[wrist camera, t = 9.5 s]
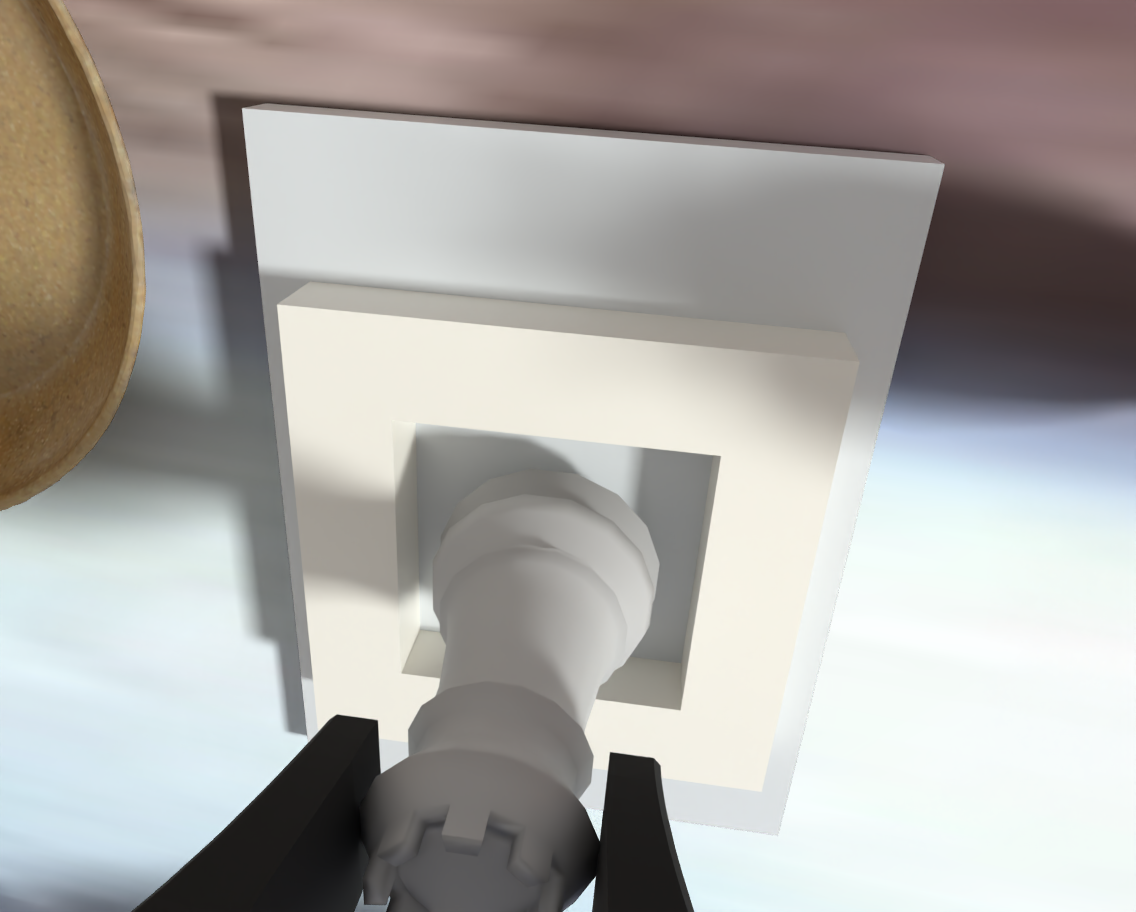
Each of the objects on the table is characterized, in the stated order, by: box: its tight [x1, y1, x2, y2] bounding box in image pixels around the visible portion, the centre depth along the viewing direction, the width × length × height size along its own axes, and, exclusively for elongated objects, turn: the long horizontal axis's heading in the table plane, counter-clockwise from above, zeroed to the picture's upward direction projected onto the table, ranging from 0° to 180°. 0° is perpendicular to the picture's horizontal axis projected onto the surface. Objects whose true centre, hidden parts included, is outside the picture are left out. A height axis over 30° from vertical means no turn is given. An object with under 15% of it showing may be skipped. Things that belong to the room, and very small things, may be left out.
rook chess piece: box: [359, 469, 660, 912], centre depth 14 cm, size 4×4×8 cm
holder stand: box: [242, 103, 945, 836], centre depth 18 cm, size 16×12×2 cm
